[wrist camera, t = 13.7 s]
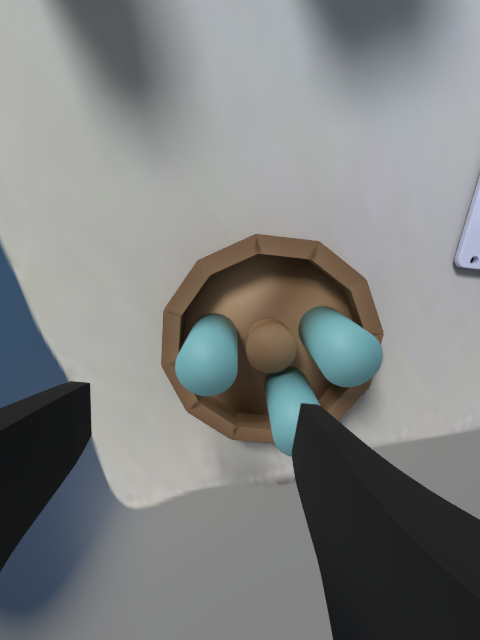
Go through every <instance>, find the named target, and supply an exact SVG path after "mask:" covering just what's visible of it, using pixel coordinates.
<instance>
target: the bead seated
mask: <svg viewBox="0 0 480 640" xmlns="http://www.w3.org/2000/svg"><path fill="white" fill-rule="evenodd" d="M298 334H299V337H300V339H301V341H302V343H303V344H304V346H305V347H306V349H307V350H308V352H309V353H310V355H311V356H312V358H313V359H314V361H315V362H316V364H317V366H318V367H319V369H320V370H321V372H322V373H323V375H324V376H325V377H326V379H327V380H329V381H330V382H331V383H333V384H335V385H337V386H341V387H355V386H358V385H361V384H363V383H365V382H367V381H368V380H370V379H371V378H372V377H373V376H374V375H375V374H376V373H377V371H378V370H379V367H380V365H381V362H382V348H381V345H380V343H379V341H378V340H377V339H376V338H375V337H374V336H373V335H372V334H371V333H369V332H368V331H366V330H365V329H363V328H362V327H360V326H359V325H357V324H356V323H354V322H353V321H351V320H350V319H348V318H347V317H346V316H344V315H343V314H341V313H340V312H338V311H337V310H335V309H334V308H331V307H328V306H318V307H315V308H312V309H310V310H309V311H307V312H306V313H305V314H304V315H303V317H302V318H301V320H300V322H299V326H298Z"/></svg>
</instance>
